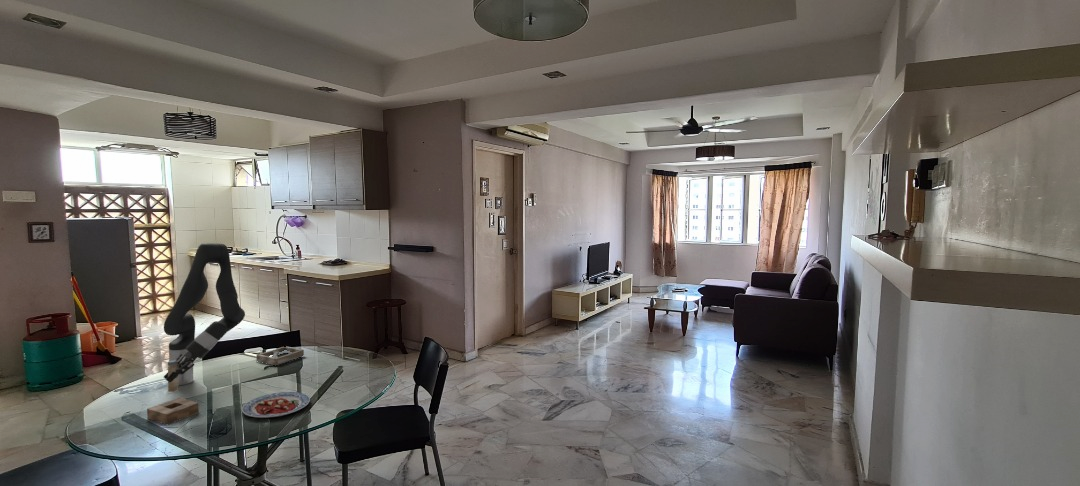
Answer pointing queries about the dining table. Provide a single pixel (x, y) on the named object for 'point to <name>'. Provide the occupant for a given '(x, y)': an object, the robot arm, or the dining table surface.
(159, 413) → the socket block
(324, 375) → the dining table surface
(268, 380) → the dining table surface
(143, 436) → the dining table surface
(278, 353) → the soldier figure
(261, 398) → the ceramic plate
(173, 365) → the dowel
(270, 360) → the figure corral
